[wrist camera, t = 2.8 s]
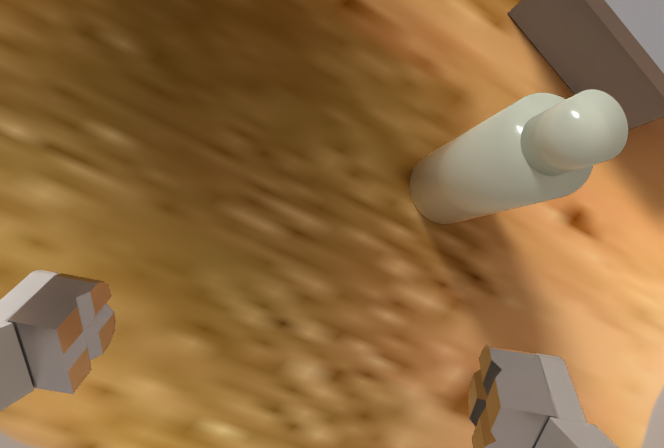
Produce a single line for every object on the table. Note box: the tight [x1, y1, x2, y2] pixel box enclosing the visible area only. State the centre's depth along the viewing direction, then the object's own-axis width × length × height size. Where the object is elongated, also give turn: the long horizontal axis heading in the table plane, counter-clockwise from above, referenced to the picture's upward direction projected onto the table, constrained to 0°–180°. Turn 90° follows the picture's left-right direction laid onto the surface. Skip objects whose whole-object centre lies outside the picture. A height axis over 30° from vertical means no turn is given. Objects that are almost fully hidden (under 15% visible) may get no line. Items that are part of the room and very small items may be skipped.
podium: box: [508, 0, 664, 130], centre depth 35 cm, size 13×13×7 cm
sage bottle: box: [409, 89, 628, 224], centre depth 27 cm, size 5×5×14 cm
